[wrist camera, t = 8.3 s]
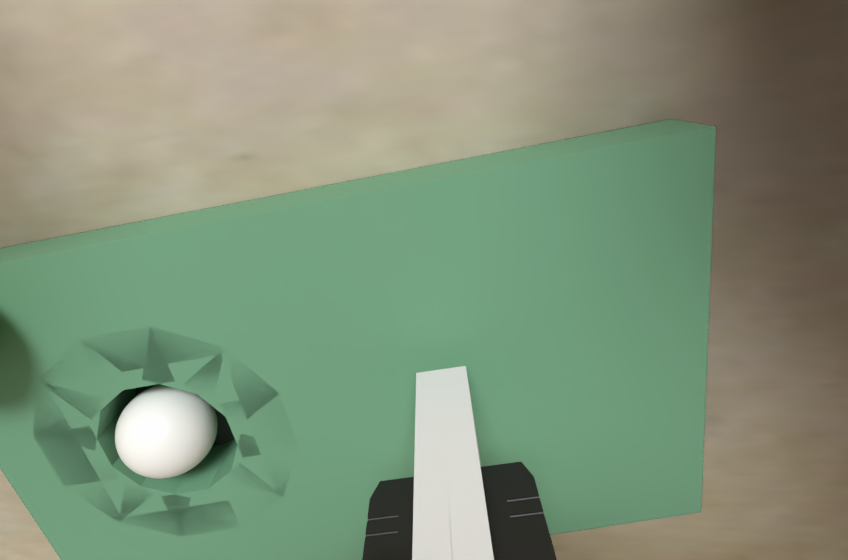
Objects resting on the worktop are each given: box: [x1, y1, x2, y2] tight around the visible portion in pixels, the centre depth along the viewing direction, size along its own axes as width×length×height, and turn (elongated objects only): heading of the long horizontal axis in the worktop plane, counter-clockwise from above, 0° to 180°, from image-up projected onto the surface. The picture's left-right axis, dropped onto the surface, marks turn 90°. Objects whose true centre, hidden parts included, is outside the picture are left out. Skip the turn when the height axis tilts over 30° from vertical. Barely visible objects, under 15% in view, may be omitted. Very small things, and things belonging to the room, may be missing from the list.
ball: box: [115, 385, 218, 479], centre depth 17 cm, size 3×3×3 cm
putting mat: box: [0, 119, 716, 560], centre depth 18 cm, size 24×14×2 cm, turn 101°
